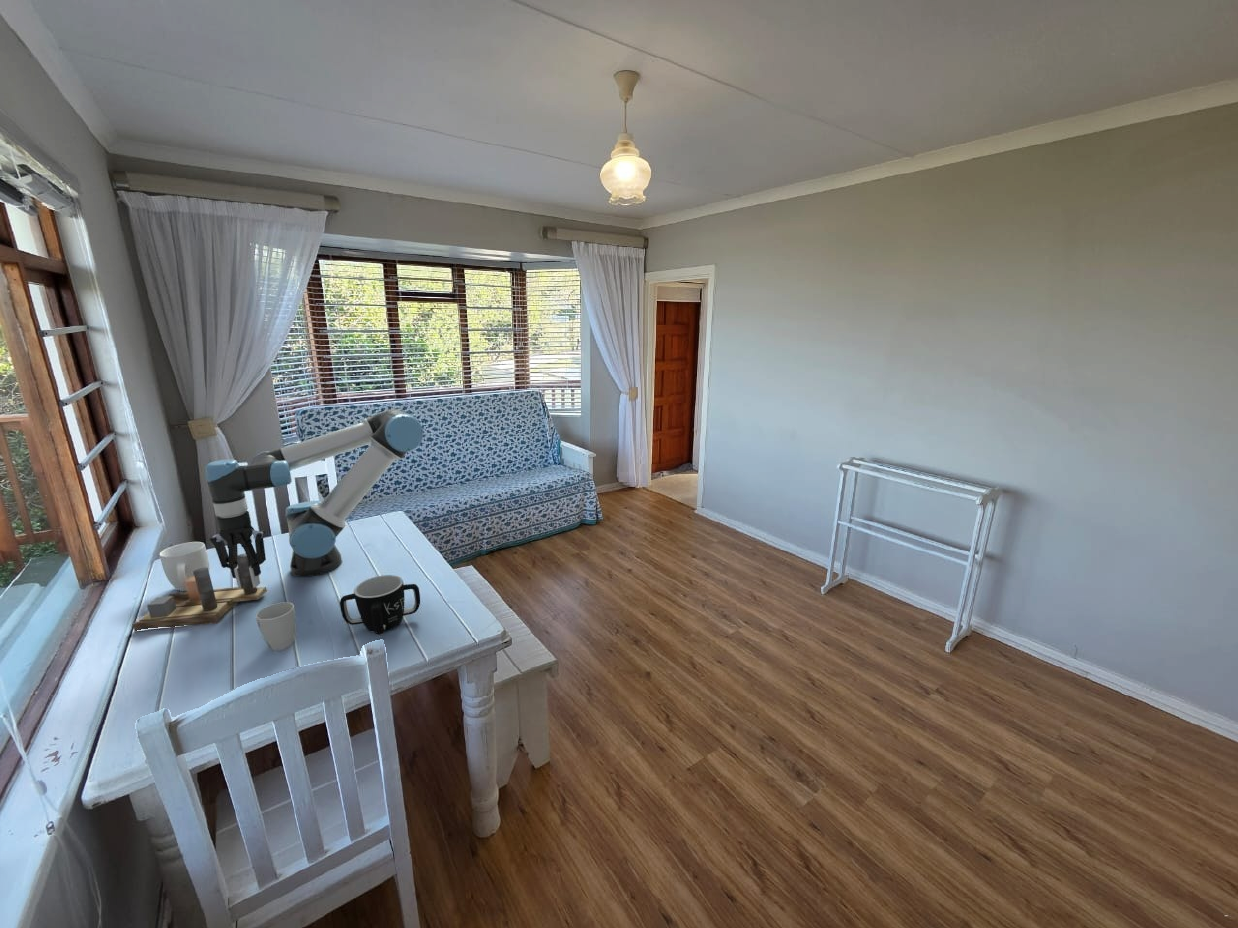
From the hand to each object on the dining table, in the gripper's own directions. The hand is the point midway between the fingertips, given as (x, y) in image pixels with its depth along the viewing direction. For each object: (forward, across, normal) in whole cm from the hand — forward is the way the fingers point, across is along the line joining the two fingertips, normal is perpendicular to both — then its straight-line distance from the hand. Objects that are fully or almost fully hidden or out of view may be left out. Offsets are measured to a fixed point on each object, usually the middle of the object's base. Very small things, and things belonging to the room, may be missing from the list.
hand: (249, 585), depth 150 cm
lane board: (+5, +14, +4) cm, 15 cm away
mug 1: (+5, +22, -12) cm, 26 cm away
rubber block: (+2, +18, +8) cm, 20 cm away
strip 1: (+3, +14, +8) cm, 16 cm away
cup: (+5, -18, +27) cm, 33 cm away
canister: (+2, +14, 0) cm, 14 cm away
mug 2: (+5, -42, +23) cm, 48 cm away
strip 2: (+3, +7, 0) cm, 7 cm away
